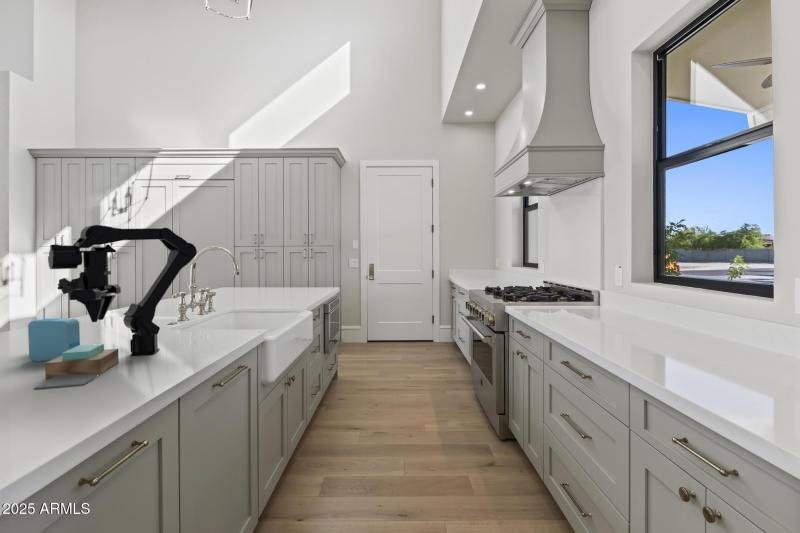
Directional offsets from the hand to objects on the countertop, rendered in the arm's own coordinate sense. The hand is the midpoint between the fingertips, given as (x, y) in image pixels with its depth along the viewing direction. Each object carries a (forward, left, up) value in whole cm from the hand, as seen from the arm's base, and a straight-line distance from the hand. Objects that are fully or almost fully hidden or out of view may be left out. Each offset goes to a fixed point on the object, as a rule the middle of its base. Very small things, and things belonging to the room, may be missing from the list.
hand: (97, 320), depth 117 cm
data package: (+14, -7, -12) cm, 20 cm away
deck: (0, +9, -12) cm, 15 cm away
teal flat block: (0, +9, -8) cm, 12 cm away
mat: (-1, +19, -12) cm, 22 cm away
